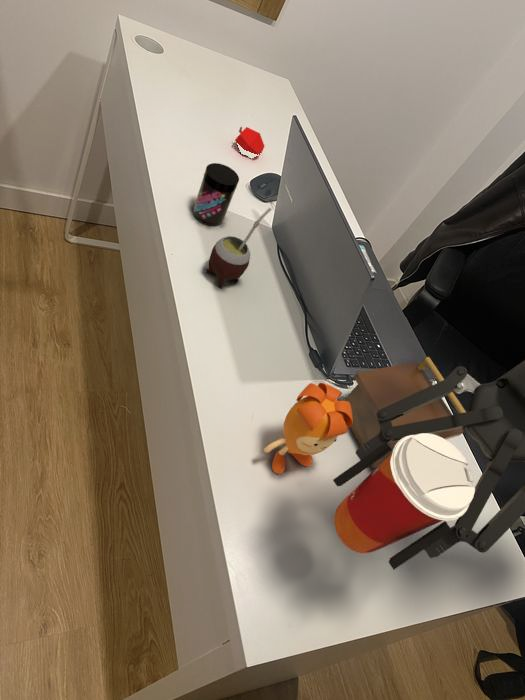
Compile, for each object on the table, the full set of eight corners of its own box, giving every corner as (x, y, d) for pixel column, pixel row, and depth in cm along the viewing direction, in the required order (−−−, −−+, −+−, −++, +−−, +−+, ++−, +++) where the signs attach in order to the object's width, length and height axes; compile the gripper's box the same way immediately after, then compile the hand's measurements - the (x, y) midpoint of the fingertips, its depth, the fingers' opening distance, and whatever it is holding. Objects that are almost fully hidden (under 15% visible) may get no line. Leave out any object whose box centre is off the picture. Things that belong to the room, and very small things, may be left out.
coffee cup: (384, 495, 59) (466, 436, 48) (396, 569, 53) (491, 520, 42) (320, 485, 56) (391, 420, 45) (326, 560, 51) (408, 507, 40)
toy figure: (261, 485, 70) (306, 437, 59) (243, 436, 74) (281, 382, 63) (328, 468, 76) (379, 421, 65) (307, 423, 80) (352, 372, 69)
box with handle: (430, 456, 85) (476, 423, 77) (370, 476, 78) (413, 442, 70) (389, 388, 92) (427, 351, 83) (330, 401, 85) (366, 361, 76)
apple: (275, 139, 123) (252, 113, 121) (263, 153, 120) (240, 127, 117) (259, 154, 129) (237, 130, 126) (248, 168, 125) (225, 144, 122)
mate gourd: (201, 283, 91) (226, 219, 80) (207, 256, 96) (231, 193, 85) (239, 296, 92) (269, 235, 81) (243, 268, 97) (271, 208, 87)
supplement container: (187, 205, 103) (200, 162, 95) (216, 205, 107) (231, 163, 99) (199, 227, 100) (213, 184, 93) (228, 226, 104) (244, 185, 96)
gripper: (633, 482, 46) (432, 614, 48) (478, 316, 54) (310, 436, 56) (671, 482, 39) (434, 637, 41) (487, 292, 47) (295, 430, 49)
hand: (363, 522), depth 49 cm, fingers closed on coffee cup, 8 cm apart
